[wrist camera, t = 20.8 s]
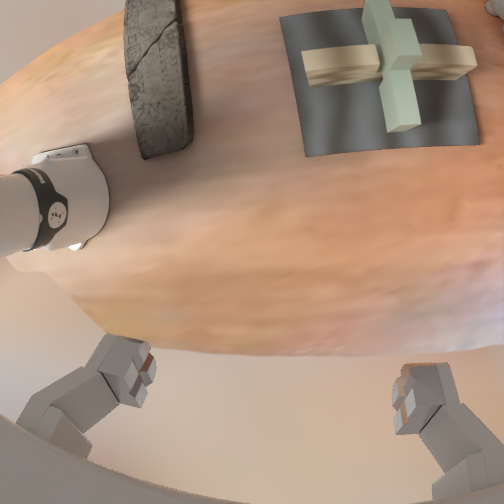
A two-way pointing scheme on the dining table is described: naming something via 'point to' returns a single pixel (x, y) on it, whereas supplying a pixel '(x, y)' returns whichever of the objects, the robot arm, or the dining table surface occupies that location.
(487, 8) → the chubby cartoon animal
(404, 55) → the sage slotted plate
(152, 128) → the stone slab
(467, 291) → the dining table surface
